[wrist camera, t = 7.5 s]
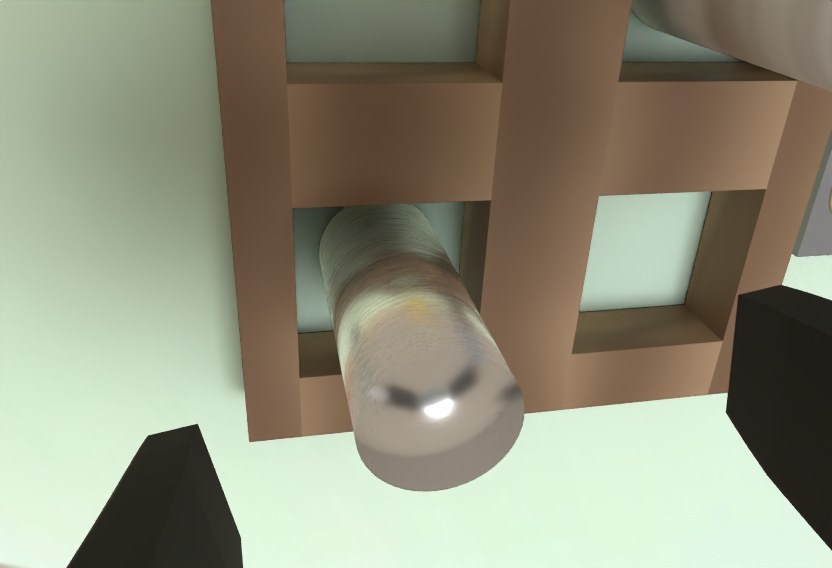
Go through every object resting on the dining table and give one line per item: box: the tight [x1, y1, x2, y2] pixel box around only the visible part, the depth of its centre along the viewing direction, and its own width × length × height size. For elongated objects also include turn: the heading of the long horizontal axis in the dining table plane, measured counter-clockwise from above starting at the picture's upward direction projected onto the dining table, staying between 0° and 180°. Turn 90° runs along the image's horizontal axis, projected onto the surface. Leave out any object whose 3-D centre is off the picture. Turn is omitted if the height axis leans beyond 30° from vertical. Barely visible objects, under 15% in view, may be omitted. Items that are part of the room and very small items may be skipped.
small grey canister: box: [319, 204, 525, 491], centre depth 16 cm, size 3×3×7 cm
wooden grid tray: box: [211, 0, 832, 442], centre depth 15 cm, size 14×15×7 cm
